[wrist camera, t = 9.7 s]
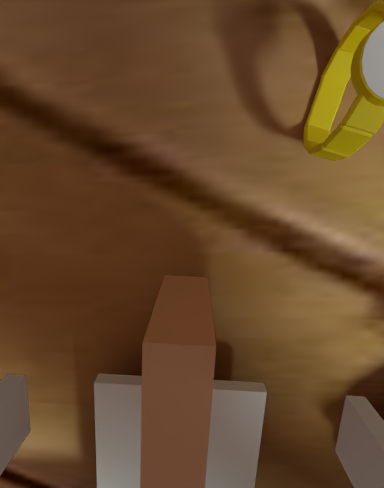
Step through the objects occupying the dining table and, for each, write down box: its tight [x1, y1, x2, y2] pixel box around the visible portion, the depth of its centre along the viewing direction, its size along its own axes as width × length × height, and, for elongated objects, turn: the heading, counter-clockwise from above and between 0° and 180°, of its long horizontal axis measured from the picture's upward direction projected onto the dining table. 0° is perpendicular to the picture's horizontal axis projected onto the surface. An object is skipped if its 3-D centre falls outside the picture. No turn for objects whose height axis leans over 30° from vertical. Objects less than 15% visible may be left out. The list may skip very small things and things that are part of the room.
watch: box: [303, 1, 384, 161], centre depth 12 cm, size 6×3×6 cm, turn 165°
